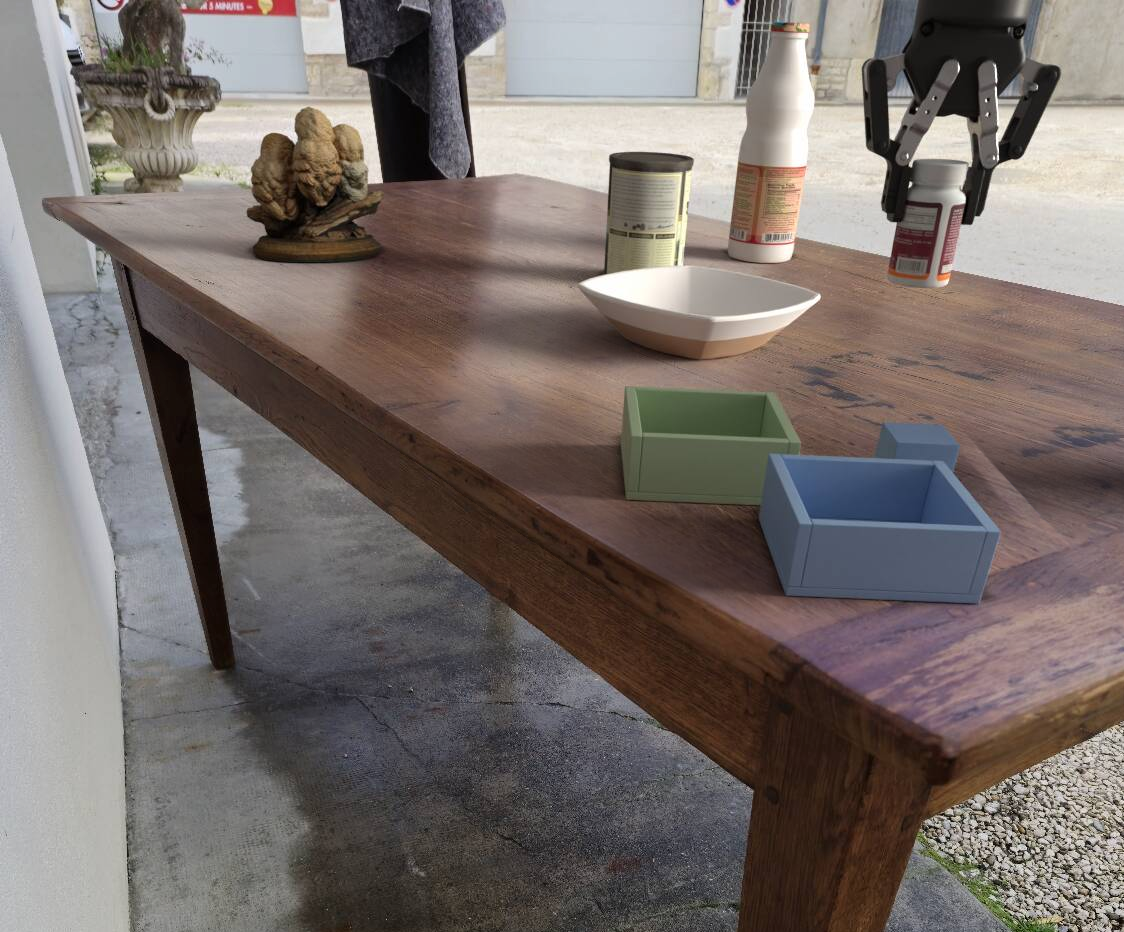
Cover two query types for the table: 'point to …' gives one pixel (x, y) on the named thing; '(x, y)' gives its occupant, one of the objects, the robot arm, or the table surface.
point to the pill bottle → (929, 224)
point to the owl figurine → (313, 194)
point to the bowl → (696, 308)
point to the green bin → (701, 444)
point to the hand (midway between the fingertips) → (929, 221)
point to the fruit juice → (773, 152)
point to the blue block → (917, 443)
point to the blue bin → (875, 529)
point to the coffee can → (646, 210)
